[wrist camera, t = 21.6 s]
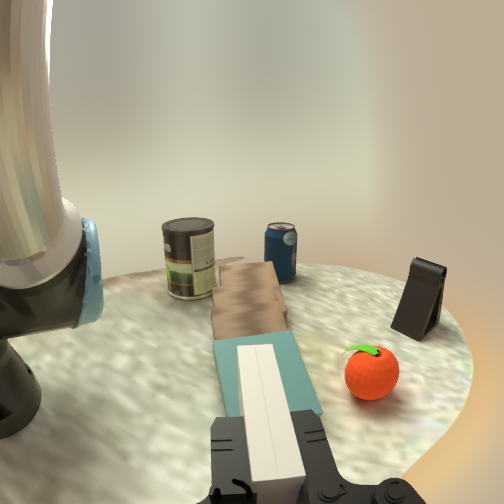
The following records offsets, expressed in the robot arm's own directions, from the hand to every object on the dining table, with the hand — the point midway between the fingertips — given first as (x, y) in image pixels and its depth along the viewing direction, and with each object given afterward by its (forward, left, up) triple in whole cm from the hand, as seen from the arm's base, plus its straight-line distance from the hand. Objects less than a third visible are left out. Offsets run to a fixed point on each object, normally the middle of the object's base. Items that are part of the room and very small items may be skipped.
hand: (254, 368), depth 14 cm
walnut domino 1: (+4, +34, -18) cm, 39 cm away
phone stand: (+32, +30, -20) cm, 48 cm away
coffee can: (-8, +50, -20) cm, 54 cm away
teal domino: (+4, +11, -19) cm, 22 cm away
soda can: (+11, +54, -20) cm, 58 cm away
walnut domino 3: (+3, +19, -19) cm, 27 cm away
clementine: (+16, +16, -20) cm, 30 cm away
